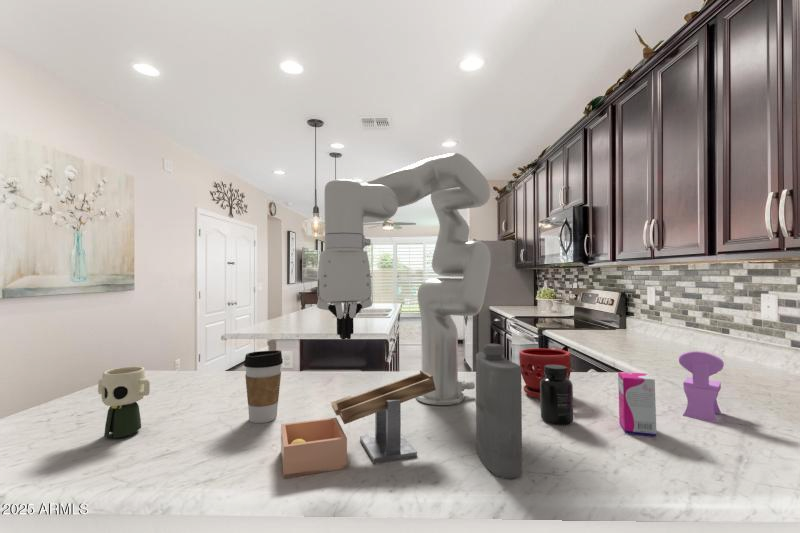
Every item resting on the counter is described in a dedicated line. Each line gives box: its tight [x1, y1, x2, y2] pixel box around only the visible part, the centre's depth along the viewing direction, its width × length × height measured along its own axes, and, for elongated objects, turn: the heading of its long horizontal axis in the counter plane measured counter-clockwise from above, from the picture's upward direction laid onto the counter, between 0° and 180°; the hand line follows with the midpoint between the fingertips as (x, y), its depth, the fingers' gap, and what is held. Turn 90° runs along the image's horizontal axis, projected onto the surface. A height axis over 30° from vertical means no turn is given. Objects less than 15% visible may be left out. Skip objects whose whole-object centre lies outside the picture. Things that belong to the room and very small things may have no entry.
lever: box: [330, 369, 436, 425], centre depth 76 cm, size 18×10×3 cm, turn 110°
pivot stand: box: [359, 399, 418, 464], centre depth 74 cm, size 8×10×10 cm
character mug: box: [97, 365, 151, 438], centre depth 80 cm, size 11×7×13 cm, turn 86°
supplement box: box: [617, 371, 657, 438], centre depth 82 cm, size 6×6×12 cm
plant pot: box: [518, 347, 572, 400], centre depth 106 cm, size 13×13×12 cm
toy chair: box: [678, 350, 725, 423], centre depth 92 cm, size 8×9×15 cm
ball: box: [291, 439, 305, 444], centre depth 68 cm, size 3×3×3 cm
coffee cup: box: [243, 349, 284, 424], centre depth 89 cm, size 8×8×15 cm
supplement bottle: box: [539, 365, 574, 426], centre depth 88 cm, size 7×7×12 cm
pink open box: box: [280, 417, 348, 479], centre depth 69 cm, size 10×10×5 cm
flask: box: [475, 343, 523, 480], centre depth 70 cm, size 15×6×20 cm, turn 2°
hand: (345, 338), depth 76 cm, fingers closed
